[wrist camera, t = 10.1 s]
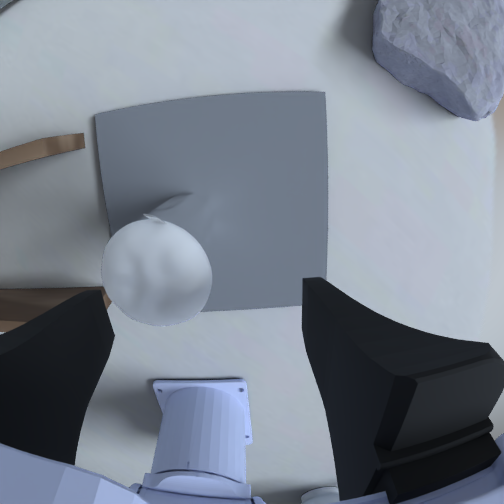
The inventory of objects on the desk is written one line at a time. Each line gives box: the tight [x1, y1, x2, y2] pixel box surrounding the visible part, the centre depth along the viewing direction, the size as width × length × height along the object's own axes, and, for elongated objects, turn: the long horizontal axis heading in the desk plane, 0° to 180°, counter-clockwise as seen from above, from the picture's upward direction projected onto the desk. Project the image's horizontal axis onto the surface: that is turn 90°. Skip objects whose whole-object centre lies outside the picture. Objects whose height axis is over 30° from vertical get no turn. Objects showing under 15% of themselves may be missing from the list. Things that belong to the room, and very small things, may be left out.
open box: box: [0, 133, 112, 332], centre depth 18 cm, size 12×14×5 cm
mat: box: [95, 92, 328, 312], centre depth 20 cm, size 14×14×1 cm
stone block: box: [372, 0, 504, 121], centre depth 14 cm, size 12×5×10 cm
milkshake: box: [101, 194, 214, 326], centre depth 15 cm, size 4×5×10 cm
